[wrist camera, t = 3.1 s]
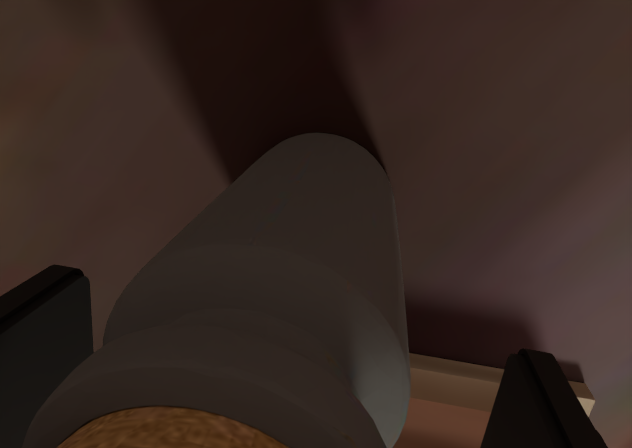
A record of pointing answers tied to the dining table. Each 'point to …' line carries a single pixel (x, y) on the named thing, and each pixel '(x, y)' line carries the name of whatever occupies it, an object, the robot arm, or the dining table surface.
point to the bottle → (256, 321)
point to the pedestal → (455, 403)
